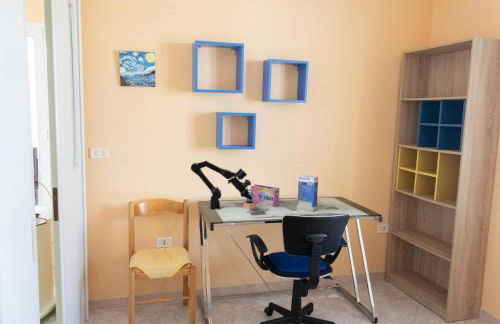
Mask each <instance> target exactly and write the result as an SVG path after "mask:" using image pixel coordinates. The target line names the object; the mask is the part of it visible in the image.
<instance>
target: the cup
mask: <svg viewBox="0 0 500 324" xmlns="http://www.w3.org/2000/svg"><path fill="white" fill-rule="evenodd" d="M243 208H244V209H245V210H246V209H247V210H249V209H250V208H256V203H255V202H254V201H253V203H250V204H249V203H247V200H246V201H244V202H243Z"/></svg>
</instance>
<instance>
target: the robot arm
mask: <svg viewBox="0 0 500 324" xmlns="http://www.w3.org/2000/svg"><path fill="white" fill-rule="evenodd" d="M203 168H208V169H210V170H212V171H214V172H216V173H218V174H220V175H221V177H224V178H225V179H226V180H227V184H228V185H229V184H231V185H233V187H234V188H235V190H237V191H238V192H239V193H240V196H241V197H242V198H245V199H247V198H248V199H250V200H252V198H251V196H250V195H249V191H248V190H249V188H248V186H252V183H251V180H250V179H247V178H246V176H248V174H247V173H246V172H245V170H243V169H242V168H239V169H238V170H237V172H233V171H231V170H229V169H227V168H226V169H225V168H222V167H220V166H218V165H216V164H213V163H211V162H210V161H208V160H204V161H200V162H198V163H197V162H193V163H192V164H191V166H190V170H191V171H192V172H193V173H194V174H195V175H197V176H198V178H199V179H201V181H202V182H203V183H204V184H205V186H206V187H207V188H208V189H209V190H210V193H211V195H210V200H209V209H210V210H221V202H220V200H219V199H221V198H222V191H221V189H220V188H219V187H218V186H214V184H213V183H212V182H211V181H210V180H209V178H208V176H206V175H205V173H204V172H203V170H202V169H203ZM244 178H246V179H245V180H244V181H243V182H242V181H240V180H243V179H244Z"/></svg>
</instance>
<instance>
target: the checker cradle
mask: <svg viewBox="0 0 500 324" xmlns="http://www.w3.org/2000/svg"><path fill="white" fill-rule="evenodd" d="M246 213H247V214H249V215H250V216H251V217H252V216H264V215H267V213H265V210H263V209H262V208H260V207H255V208H250V209H248V210H247V211H246Z"/></svg>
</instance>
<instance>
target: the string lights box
mask: <svg viewBox="0 0 500 324" xmlns="http://www.w3.org/2000/svg"><path fill="white" fill-rule="evenodd" d="M318 187H319V176H315V175H309V174H307V175H306V174H302V175H298V189H297V190H298V191H297V210H301V211H309V212H315V211H317V210H318V191H319V190H318V189H319V188H318Z"/></svg>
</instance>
